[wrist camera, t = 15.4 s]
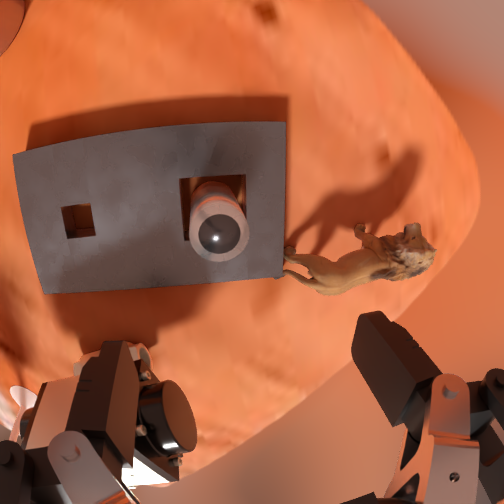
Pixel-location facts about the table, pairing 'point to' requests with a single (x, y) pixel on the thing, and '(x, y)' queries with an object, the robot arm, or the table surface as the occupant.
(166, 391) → the security camera
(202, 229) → the flashlight
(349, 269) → the lion figurine
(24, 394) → the champagne flute
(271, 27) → the table surface
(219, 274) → the grey board with holes
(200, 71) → the table surface
